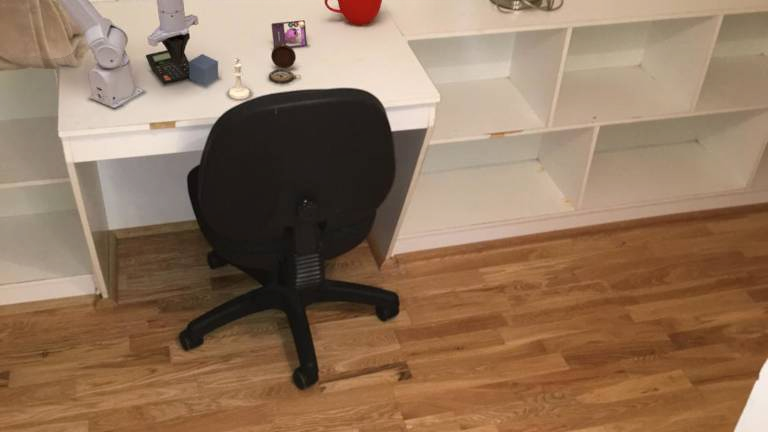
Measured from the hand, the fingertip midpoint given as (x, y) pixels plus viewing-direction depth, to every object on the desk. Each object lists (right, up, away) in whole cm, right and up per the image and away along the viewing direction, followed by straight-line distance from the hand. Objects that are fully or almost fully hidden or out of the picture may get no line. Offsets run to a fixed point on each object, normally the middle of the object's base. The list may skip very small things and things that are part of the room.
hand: (177, 62), depth 185 cm
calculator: (-5, 0, +14) cm, 14 cm away
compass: (+24, -1, +14) cm, 28 cm away
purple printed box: (+23, +10, +28) cm, 38 cm away
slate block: (+4, -2, +11) cm, 12 cm away
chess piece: (+13, -7, +7) cm, 16 cm away
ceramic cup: (+39, +20, +41) cm, 60 cm away
